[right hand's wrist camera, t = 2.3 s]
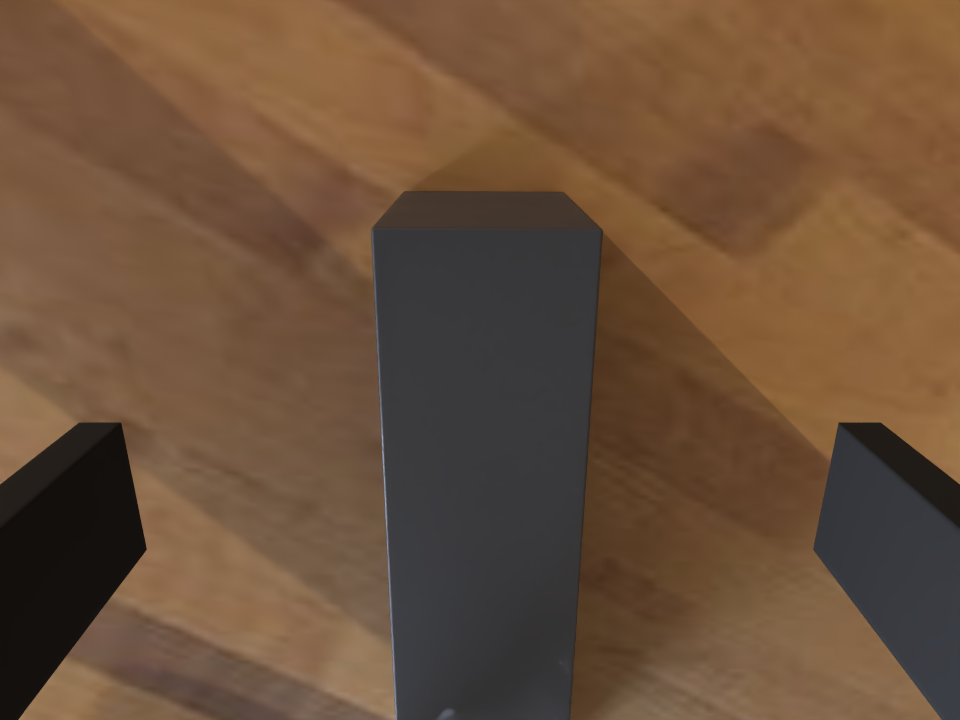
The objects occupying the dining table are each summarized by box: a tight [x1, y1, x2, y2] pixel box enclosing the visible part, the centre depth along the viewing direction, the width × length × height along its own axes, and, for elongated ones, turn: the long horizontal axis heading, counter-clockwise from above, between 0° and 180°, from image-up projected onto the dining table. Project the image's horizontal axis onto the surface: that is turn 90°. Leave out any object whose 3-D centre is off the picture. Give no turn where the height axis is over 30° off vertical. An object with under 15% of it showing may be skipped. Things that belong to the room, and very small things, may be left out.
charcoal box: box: [371, 191, 603, 720], centre depth 29 cm, size 32×6×9 cm, turn 0°
